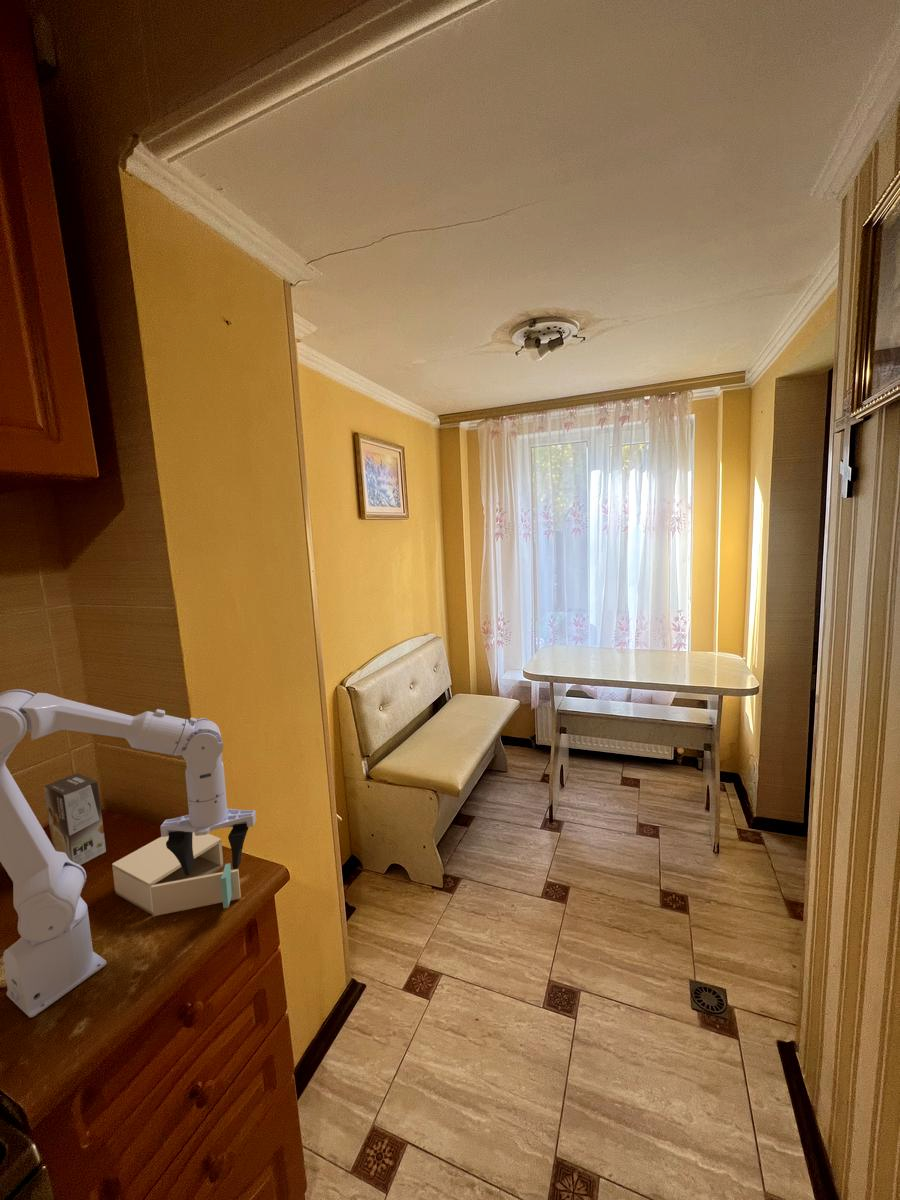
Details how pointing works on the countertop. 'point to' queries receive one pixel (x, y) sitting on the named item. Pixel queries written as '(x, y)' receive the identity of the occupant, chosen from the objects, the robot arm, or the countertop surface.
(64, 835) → the coffee box
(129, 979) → the countertop surface
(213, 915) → the countertop surface
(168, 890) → the flap
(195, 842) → the carton
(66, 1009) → the countertop surface
